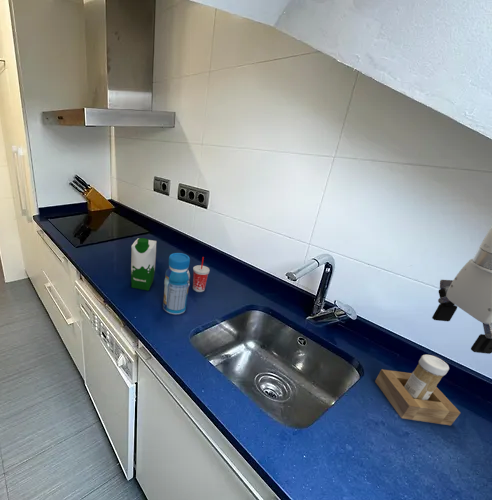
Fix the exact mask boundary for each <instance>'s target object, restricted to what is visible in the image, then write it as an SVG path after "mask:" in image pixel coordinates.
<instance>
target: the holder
mask: <svg viewBox="0 0 492 500" xmlns="http://www.w3.org/2000/svg"><path fill="white" fill-rule="evenodd" d="M412 373H413V372H405V371H398V370H390V369H383V368H382V369H380V371H379V372H378V374H377V377H376V379H375V380H374V382H375V384H376V386H378V388H379V389H380V391H381V392H382V394H383V395H384V396H385V397H386V399H387V401H388V402H389V403H390V405H391V406H392V408H393V409H394V410H395V411H396V413H397V414H398V416H399V417H400V418H401V419H404V420H411V421H417V422H422V423H423V422H424V423H430V424H438V425H446V426H452V425H453V424H454V423H455V421H456V420H457V418H458V417H459V416H460V415H461V411H460V410H459V409H458V408H457V407H456V406H455V405H454V404H453V403H452V402H451V400H449V398H448V397H446V395H445V394H444V393H443V392H442V391H441V390H440V389H439V388H438V387H437V386H436V388H435V389H434V391H433V392H432V394H431V396H430V397H429V399H428V400H421V399H413V398H412V396H411V395H410V394H409V393H408V391H407V390H406V389H405V388H404V386H405V384H406V383H407V381H408V379H409V378H410V376H411V374H412Z"/></svg>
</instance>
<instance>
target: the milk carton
mask: <svg viewBox="0 0 492 500" xmlns="http://www.w3.org/2000/svg"><path fill="white" fill-rule="evenodd" d="M130 255H131V256H130V257H131V258H130V259H131V260H130V262H131V263H130V287H131V288H133V289H138V290H143V291H148V292H149V291H150V289H151V287H152V285H153V283H154V280H155V279H154V278H155V273H156V259H157V240H152V239H148V238H144V237H140V238H138V237H137V239H135V240H134V242H133V243H132V244H131V254H130Z"/></svg>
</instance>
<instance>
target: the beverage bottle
mask: <svg viewBox="0 0 492 500" xmlns="http://www.w3.org/2000/svg"><path fill="white" fill-rule="evenodd" d="M190 262H191V258H190V256H189V255H187V254H186V253H183V252H173V253H171V254H169V257H168V262H167V263H168V268H167V269H166V271H165V274H164V276H165V278H164V282H163V285H164V287H163V288H164V290H163V300H162V309H163V310H164V311H165V312H166V313H168V314H170V315H181V314H184V313H185V311H186V310H187V303H188V302H187V301H188V294H189V288H190V285H191V284H190V283H191V282H190V280H191V274H190V271H189V267H190V264H191V263H190Z"/></svg>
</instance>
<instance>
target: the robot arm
mask: <svg viewBox="0 0 492 500" xmlns="http://www.w3.org/2000/svg"><path fill="white" fill-rule="evenodd" d="M438 295H439V298H438V299H437V302H438V303H439V304H438V306H437V307H436V309H435V311H434V313H433V315H432V317H431V319H432V320H434V321H440V322H451V320H452V318H453V317H454V315H455V313H456V312H457V309H458V308H459V309H461V310H462V311H463V312H465V313H467V314H468V315H469V316H471V317H472V318H473V319H475V320H477V321H478V322H480V323H482V328H483V334H482V333H481V334H479V335H478V337H477V338H476V340H475V341H474V343H473V344H472V346H471V347H470V350H471V351H472V352H473V353H478V354H486V355H487V354H488V355H490V354H492V225H491V226H490V227H489V229H488V231H487V233H486V235H485V236H484V238H483V240H482V242H481V243H480V245H479V246H478V248H477V250H476V252H475V254H474V256H473V257H472V258H470V259H469V260H468V261H467V262H466V263H465V264H464V265H463V266H462V268H461V269H460V270H459V272H458V273H457V274H456V276H455V277H454V279H440V280H439V289H438Z"/></svg>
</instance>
